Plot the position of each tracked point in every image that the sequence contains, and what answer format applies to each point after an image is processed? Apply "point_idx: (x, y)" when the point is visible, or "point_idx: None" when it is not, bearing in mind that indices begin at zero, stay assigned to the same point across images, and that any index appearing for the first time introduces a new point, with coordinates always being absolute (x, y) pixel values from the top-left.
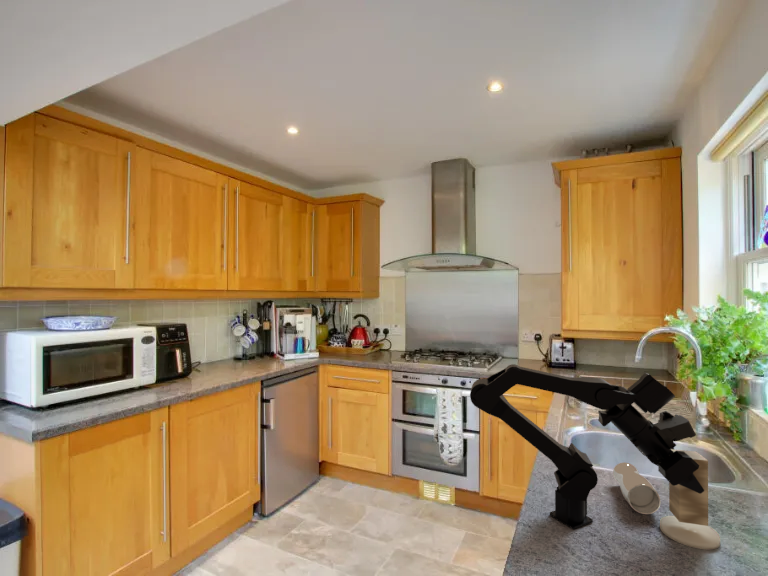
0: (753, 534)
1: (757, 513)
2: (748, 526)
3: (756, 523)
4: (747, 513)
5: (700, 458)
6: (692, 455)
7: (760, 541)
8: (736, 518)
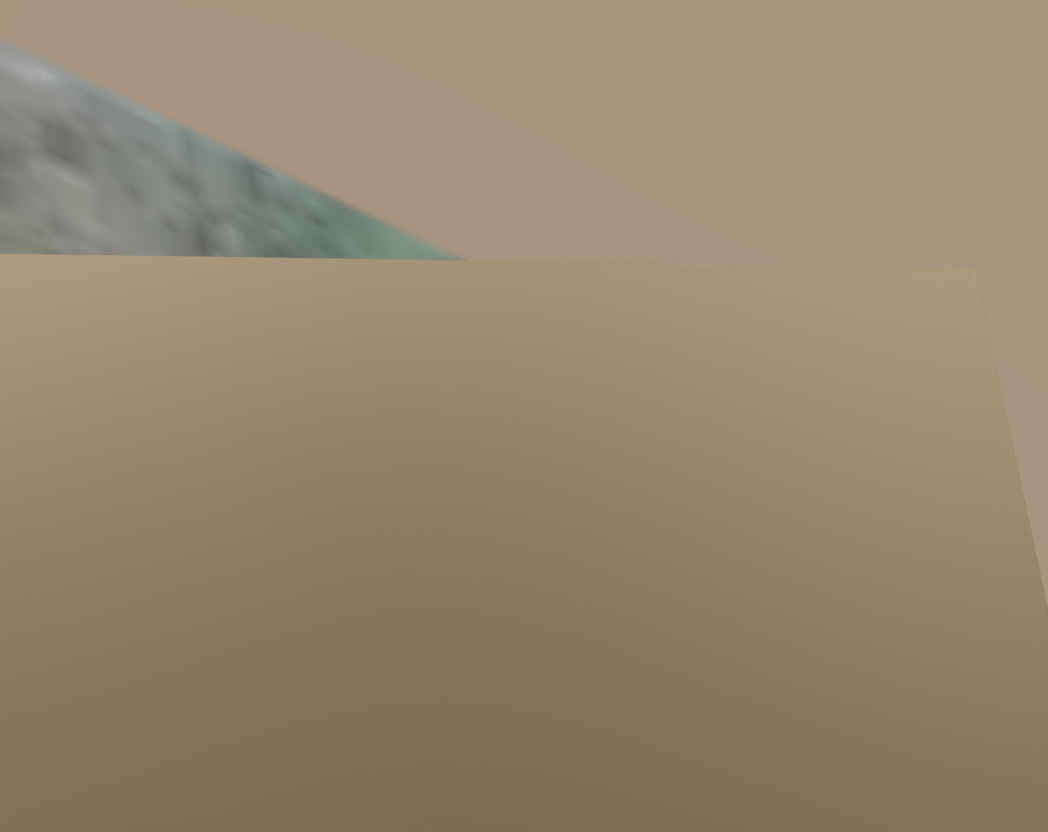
0: (344, 249)
1: (2, 63)
2: (221, 222)
3: (164, 146)
4: (6, 126)
5: (779, 526)
6: (294, 805)
7: (442, 255)
8: (97, 243)
